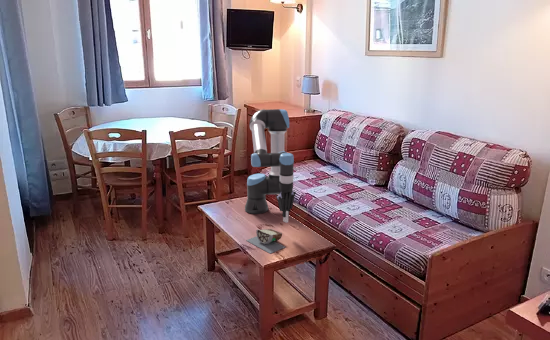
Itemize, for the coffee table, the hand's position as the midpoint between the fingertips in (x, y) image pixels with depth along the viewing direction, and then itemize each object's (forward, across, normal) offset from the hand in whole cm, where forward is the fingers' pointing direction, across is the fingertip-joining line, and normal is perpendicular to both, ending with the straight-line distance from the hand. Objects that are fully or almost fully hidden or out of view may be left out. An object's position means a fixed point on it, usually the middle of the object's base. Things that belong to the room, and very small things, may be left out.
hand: (285, 221), depth 243 cm
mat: (+9, +15, 0) cm, 17 cm away
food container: (+7, +7, 0) cm, 10 cm away
